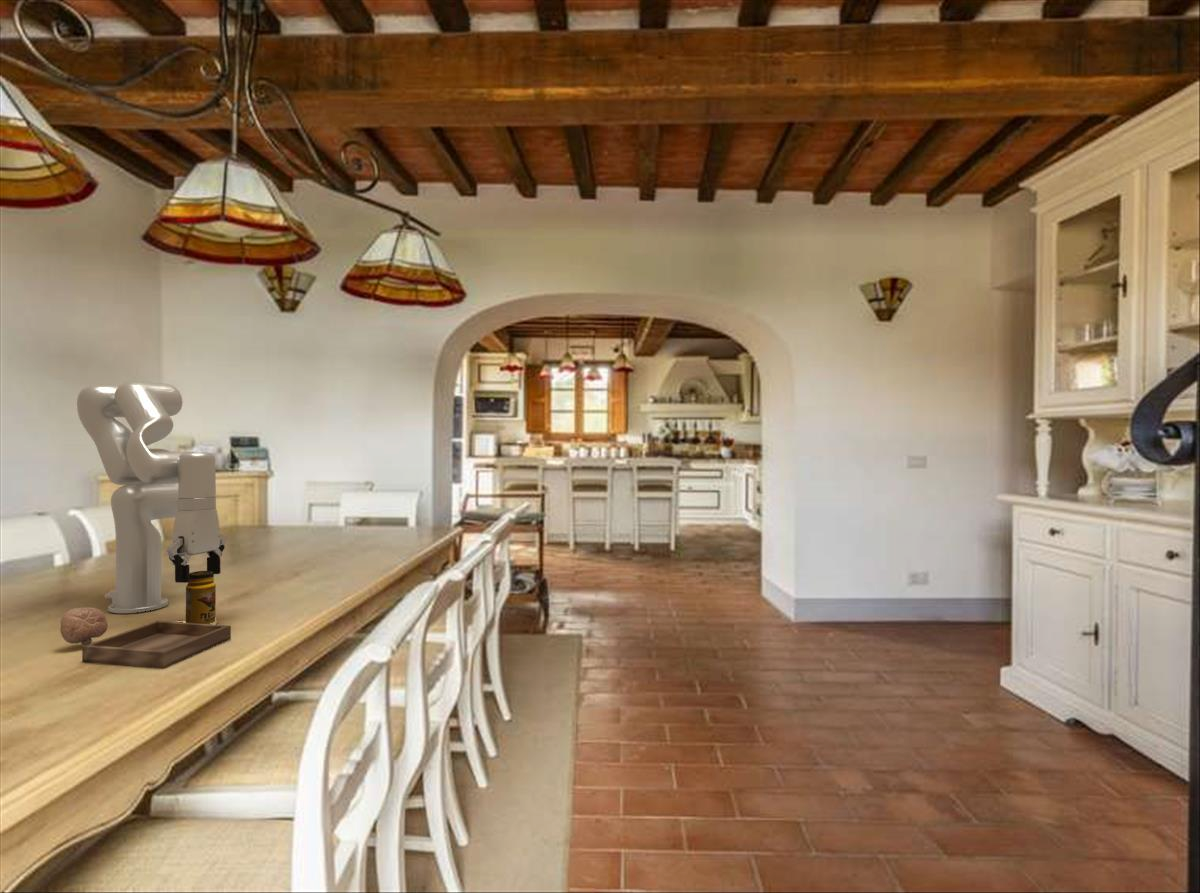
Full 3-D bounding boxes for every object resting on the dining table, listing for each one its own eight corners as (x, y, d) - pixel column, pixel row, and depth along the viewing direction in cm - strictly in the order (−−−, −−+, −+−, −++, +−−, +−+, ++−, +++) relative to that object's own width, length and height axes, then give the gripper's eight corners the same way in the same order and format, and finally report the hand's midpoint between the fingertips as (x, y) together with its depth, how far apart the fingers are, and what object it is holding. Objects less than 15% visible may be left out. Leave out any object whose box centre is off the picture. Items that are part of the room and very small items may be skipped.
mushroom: (110, 639, 142) (110, 602, 142) (103, 648, 136) (103, 609, 136) (65, 644, 138) (65, 606, 138) (57, 653, 133) (57, 613, 133)
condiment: (218, 624, 154) (218, 573, 154) (175, 630, 149) (175, 577, 149) (216, 617, 160) (216, 568, 160) (174, 622, 155) (175, 571, 155)
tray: (82, 661, 128) (82, 646, 128) (157, 634, 146) (157, 620, 146) (164, 668, 125) (164, 652, 125) (230, 639, 143) (230, 625, 143)
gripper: (210, 501, 163) (211, 570, 163) (152, 508, 146) (154, 585, 146) (237, 501, 162) (238, 571, 162) (183, 508, 145) (184, 586, 145)
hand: (198, 577), depth 154 cm, fingers open, 9 cm apart
